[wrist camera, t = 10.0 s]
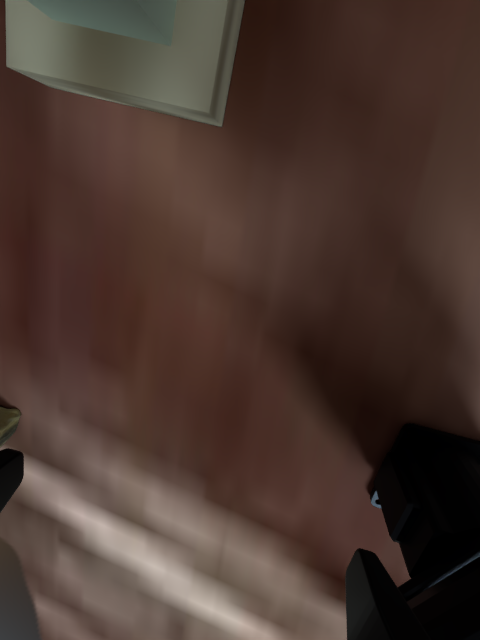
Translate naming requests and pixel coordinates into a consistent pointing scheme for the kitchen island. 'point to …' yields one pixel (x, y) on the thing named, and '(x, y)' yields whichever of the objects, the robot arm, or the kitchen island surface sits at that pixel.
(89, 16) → the block
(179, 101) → the plinth
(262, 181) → the kitchen island surface
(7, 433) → the rock
